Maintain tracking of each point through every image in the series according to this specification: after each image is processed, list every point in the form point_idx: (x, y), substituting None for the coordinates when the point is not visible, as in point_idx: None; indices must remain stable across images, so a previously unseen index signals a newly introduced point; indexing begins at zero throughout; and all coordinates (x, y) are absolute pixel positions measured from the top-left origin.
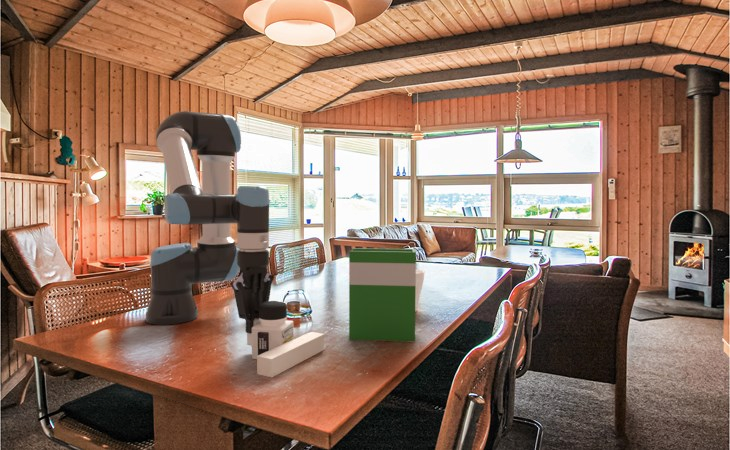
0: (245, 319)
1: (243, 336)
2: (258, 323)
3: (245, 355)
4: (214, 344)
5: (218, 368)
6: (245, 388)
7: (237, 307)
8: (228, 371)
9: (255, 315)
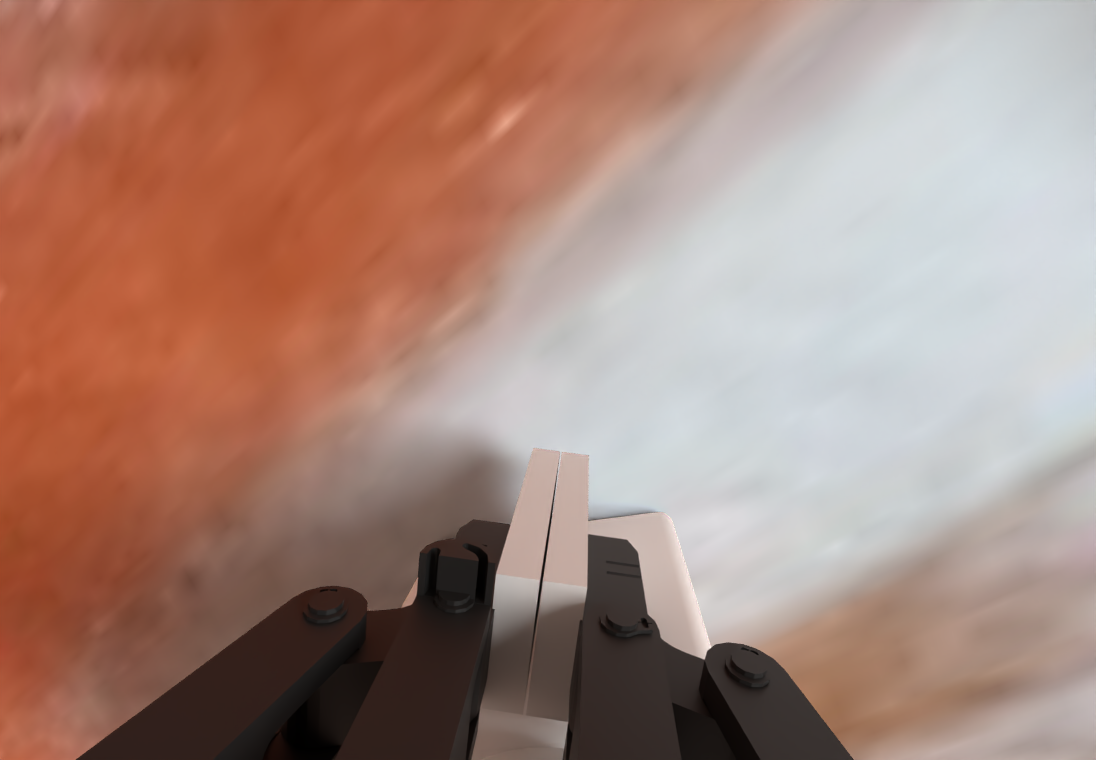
0: (406, 614)
1: (923, 114)
2: (495, 716)
3: (483, 451)
4: (608, 10)
5: (206, 431)
6: (83, 735)
7: (135, 725)
8: (202, 521)
9: (574, 683)
